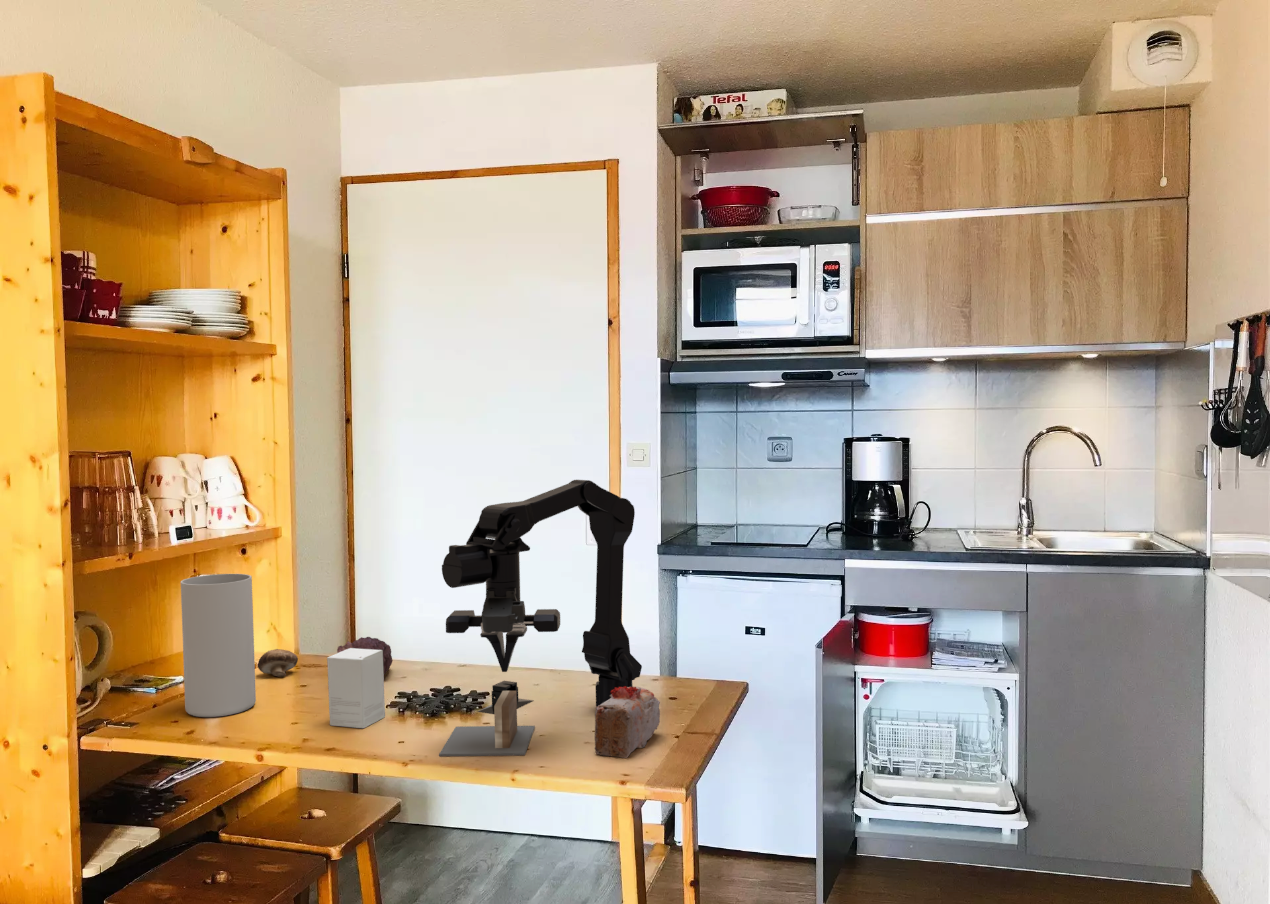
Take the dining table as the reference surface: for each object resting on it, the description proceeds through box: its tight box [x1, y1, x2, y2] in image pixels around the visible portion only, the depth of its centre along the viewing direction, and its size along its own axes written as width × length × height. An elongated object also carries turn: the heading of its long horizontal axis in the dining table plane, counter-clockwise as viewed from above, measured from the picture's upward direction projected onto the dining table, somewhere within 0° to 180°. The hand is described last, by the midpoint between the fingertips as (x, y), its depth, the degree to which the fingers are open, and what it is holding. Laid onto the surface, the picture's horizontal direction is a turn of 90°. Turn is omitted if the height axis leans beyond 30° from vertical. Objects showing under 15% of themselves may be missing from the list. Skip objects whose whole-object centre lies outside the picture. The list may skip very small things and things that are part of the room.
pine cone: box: [336, 636, 393, 675], centre depth 209 cm, size 18×10×10 cm
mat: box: [438, 725, 536, 757], centre depth 168 cm, size 14×14×1 cm
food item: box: [594, 686, 661, 759], centre depth 166 cm, size 14×8×10 cm, turn 160°
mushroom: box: [257, 648, 299, 678], centre depth 214 cm, size 8×8×6 cm
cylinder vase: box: [180, 573, 257, 718], centre depth 190 cm, size 12×12×25 cm
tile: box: [493, 691, 518, 748], centre depth 168 cm, size 2×9×7 cm, turn 179°
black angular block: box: [476, 680, 535, 715], centre depth 189 cm, size 13×8×5 cm, turn 153°
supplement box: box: [326, 648, 386, 729], centre depth 181 cm, size 7×7×13 cm
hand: (504, 671), depth 168 cm, fingers closed
